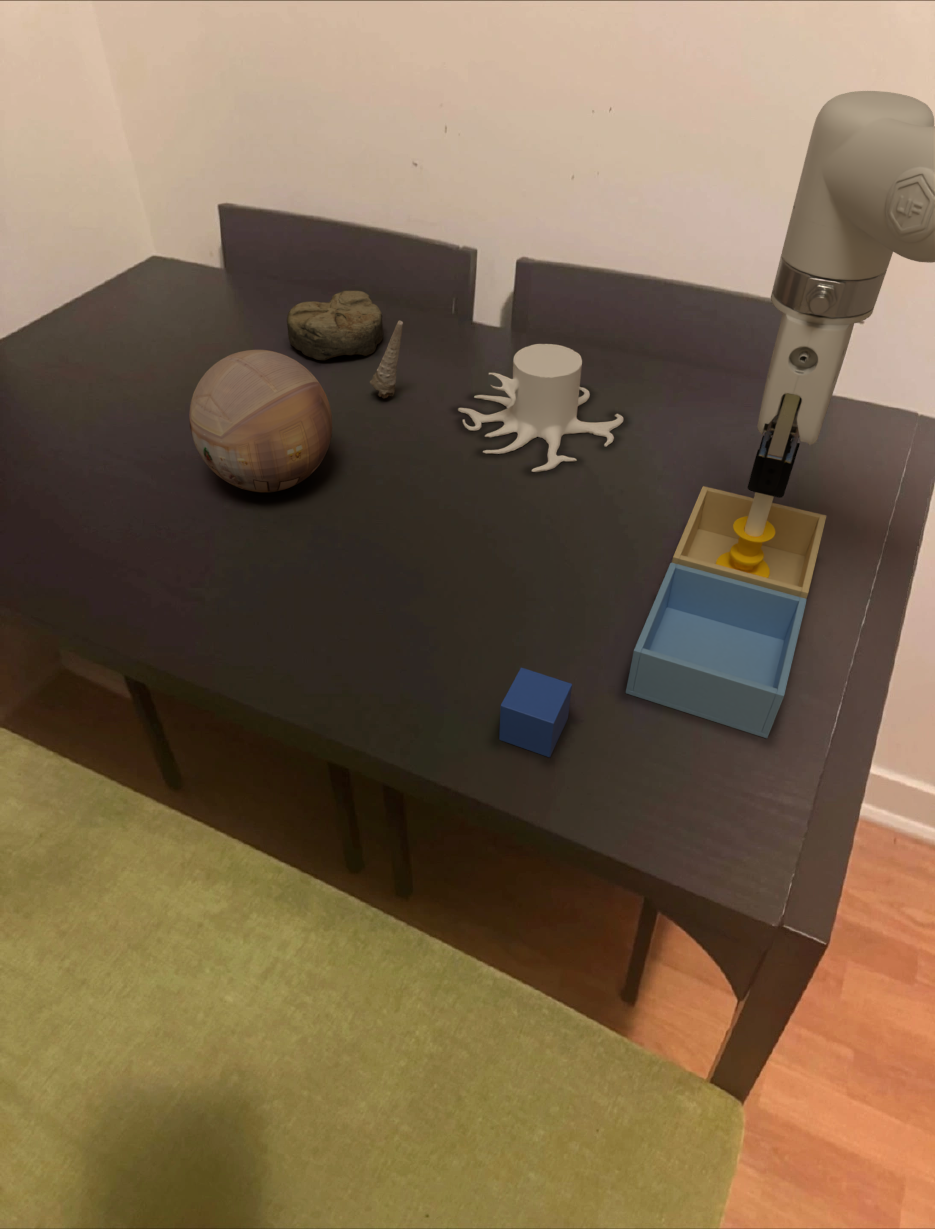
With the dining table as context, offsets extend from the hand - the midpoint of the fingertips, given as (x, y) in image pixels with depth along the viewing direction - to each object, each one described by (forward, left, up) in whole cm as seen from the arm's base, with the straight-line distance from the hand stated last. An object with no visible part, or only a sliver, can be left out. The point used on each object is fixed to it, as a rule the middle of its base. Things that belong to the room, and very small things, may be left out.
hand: (767, 484), depth 77 cm
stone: (+62, -28, -12) cm, 69 cm away
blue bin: (0, +13, -12) cm, 17 cm away
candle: (0, 0, -11) cm, 11 cm away
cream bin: (0, 0, -12) cm, 12 cm away
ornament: (+52, +4, -12) cm, 54 cm away
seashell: (+48, -17, -12) cm, 52 cm away
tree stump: (+28, -20, -12) cm, 36 cm away
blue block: (+12, +26, -12) cm, 31 cm away
